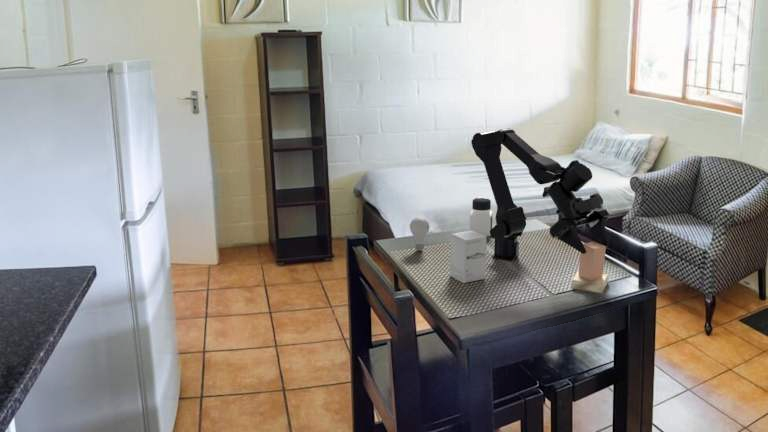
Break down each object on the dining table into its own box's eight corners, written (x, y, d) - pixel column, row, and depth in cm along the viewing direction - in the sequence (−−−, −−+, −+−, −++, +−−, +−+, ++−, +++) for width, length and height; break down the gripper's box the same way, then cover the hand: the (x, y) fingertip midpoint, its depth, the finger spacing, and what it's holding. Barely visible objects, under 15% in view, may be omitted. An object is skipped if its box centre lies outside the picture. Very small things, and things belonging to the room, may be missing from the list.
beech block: (571, 290, 189) (572, 279, 189) (577, 280, 196) (578, 270, 196) (602, 294, 186) (602, 284, 185) (607, 284, 193) (607, 274, 192)
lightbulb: (432, 249, 223) (433, 216, 220) (423, 255, 218) (423, 220, 215) (416, 246, 226) (416, 213, 223) (406, 252, 221) (406, 218, 218)
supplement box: (464, 284, 194) (464, 240, 190) (449, 275, 200) (449, 233, 196) (486, 279, 197) (487, 236, 193) (471, 271, 203) (471, 229, 200)
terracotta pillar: (578, 275, 191) (581, 244, 188) (589, 272, 193) (593, 241, 191) (590, 280, 187) (594, 248, 185) (602, 277, 190) (606, 246, 187)
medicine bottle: (490, 236, 235) (491, 201, 232) (469, 235, 236) (470, 201, 233) (492, 230, 242) (493, 196, 239) (471, 229, 243) (471, 195, 240)
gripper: (560, 189, 182) (592, 241, 176) (606, 179, 192) (638, 227, 186) (535, 213, 190) (566, 262, 184) (581, 202, 200) (611, 248, 195)
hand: (596, 249), depth 187 cm, fingers open, 9 cm apart
